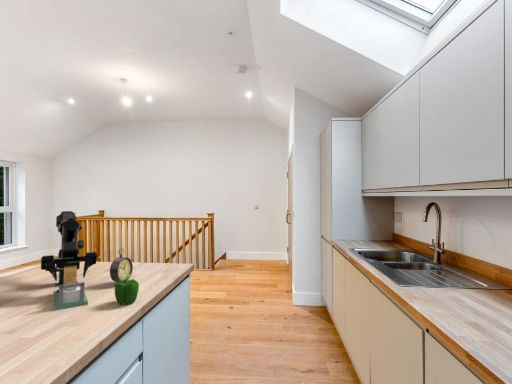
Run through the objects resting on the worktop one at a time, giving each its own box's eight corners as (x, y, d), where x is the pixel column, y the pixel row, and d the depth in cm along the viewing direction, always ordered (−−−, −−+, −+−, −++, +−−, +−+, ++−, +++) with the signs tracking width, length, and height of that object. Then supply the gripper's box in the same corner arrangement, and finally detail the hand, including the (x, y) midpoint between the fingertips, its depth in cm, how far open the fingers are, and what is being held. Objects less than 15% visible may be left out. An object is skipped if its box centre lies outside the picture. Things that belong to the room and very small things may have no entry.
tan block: (63, 293, 112) (64, 266, 113) (75, 292, 115) (76, 265, 115) (64, 301, 104) (65, 272, 104) (77, 299, 106) (78, 270, 106)
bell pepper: (127, 308, 103) (128, 279, 103) (109, 305, 105) (110, 277, 106) (143, 300, 111) (144, 274, 111) (126, 297, 113) (127, 272, 114)
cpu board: (53, 294, 116) (54, 274, 116) (82, 290, 122) (83, 271, 122) (54, 310, 100) (55, 286, 100) (87, 304, 105) (88, 282, 106)
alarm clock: (117, 287, 126) (118, 250, 126) (106, 286, 127) (107, 249, 127) (133, 281, 136) (134, 246, 137) (123, 280, 138) (124, 245, 138)
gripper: (42, 235, 111) (40, 269, 101) (97, 232, 122) (100, 263, 112) (41, 252, 117) (40, 287, 108) (94, 248, 128) (96, 279, 118)
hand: (70, 278), depth 111 cm, fingers open, 9 cm apart
